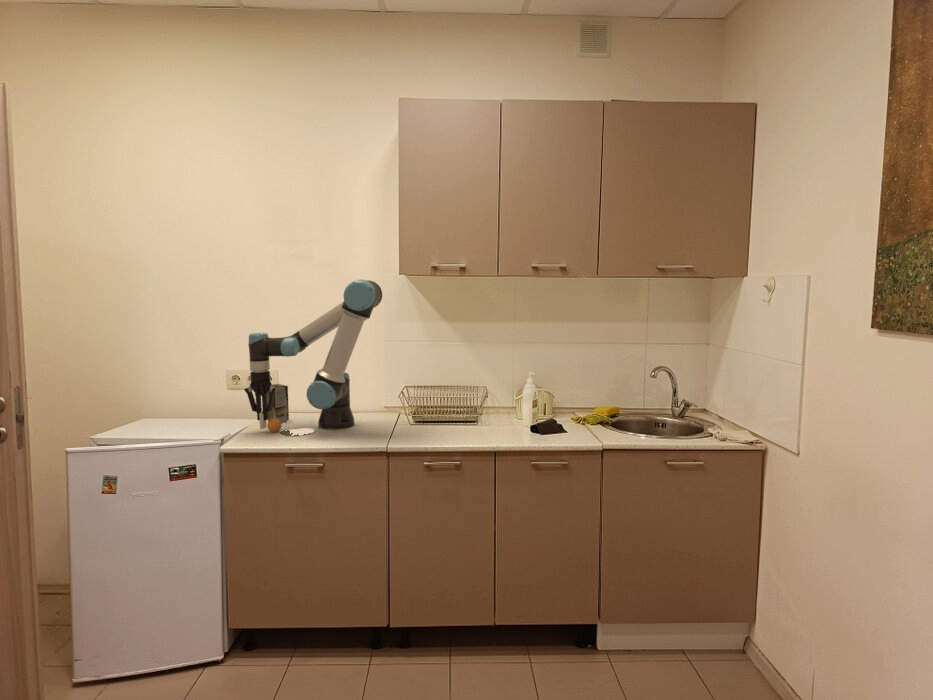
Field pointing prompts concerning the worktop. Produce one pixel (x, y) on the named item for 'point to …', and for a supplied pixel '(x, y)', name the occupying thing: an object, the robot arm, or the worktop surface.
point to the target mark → (288, 433)
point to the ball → (274, 425)
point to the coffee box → (279, 404)
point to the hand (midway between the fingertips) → (263, 428)
